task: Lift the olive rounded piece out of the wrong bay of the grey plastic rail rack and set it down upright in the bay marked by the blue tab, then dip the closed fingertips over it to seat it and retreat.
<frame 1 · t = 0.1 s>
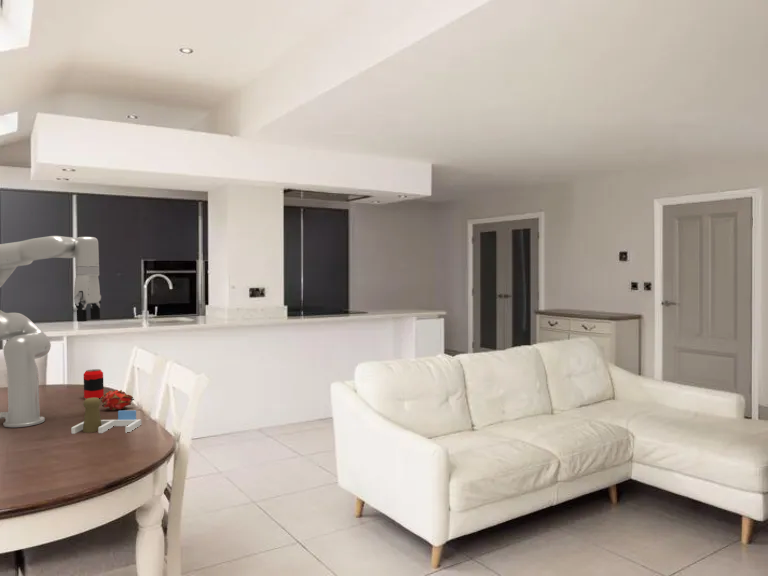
hand: (88, 320, 214), 37 cm above the table, tool pointing down, fingers open, 9 cm apart
rail rack: (107, 429, 206), on the table
soda can: (94, 398, 258), on the table
olive rounded piece: (92, 430, 205), on the table
dragon fruit: (117, 409, 236), on the table
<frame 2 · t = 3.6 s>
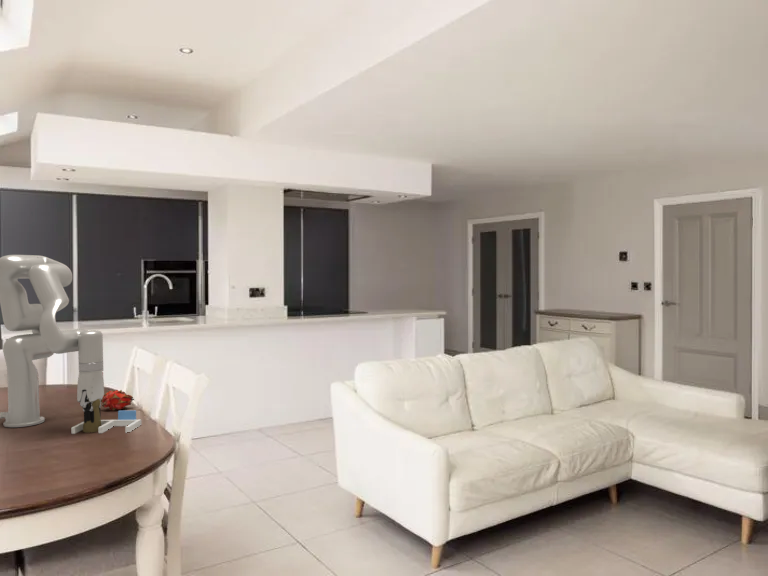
hand: (92, 420, 205), 3 cm above the table, tool pointing down, fingers closed on olive rounded piece, 3 cm apart
olive rounded piece: (92, 430, 205), on the table, touching gripper
everything else where it was.
when the fingers open (5 cm above the table, at t = 9.5 s): olive rounded piece drops 1 cm, on the table.
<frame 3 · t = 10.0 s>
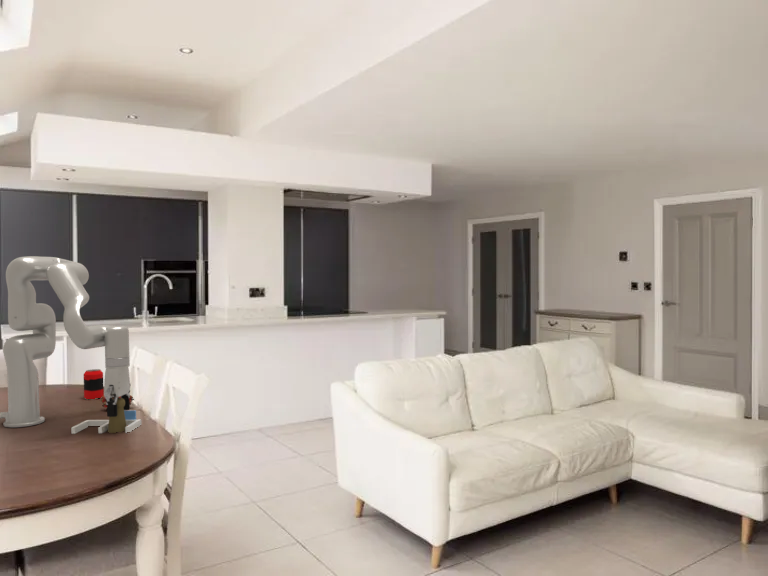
hand: (118, 413, 205), 6 cm above the table, tool pointing down, fingers open, 9 cm apart
olive rounded piece: (117, 431, 204), on the table
everything else where it was.
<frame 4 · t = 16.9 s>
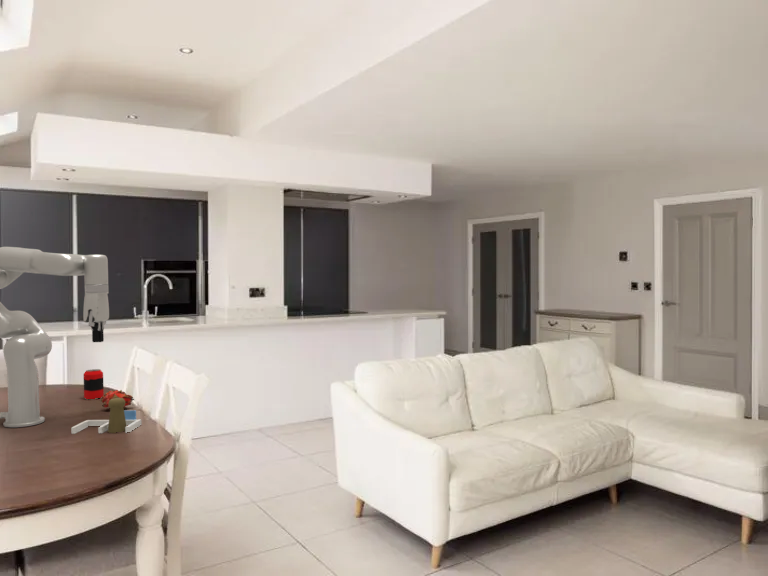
hand: (98, 341, 213), 29 cm above the table, tool pointing down, fingers closed
nothing on the table moved.
at the end: olive rounded piece 1.2 cm from the target spot, on the table; olive rounded piece tilted 0°; the gripper is holding nothing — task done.
